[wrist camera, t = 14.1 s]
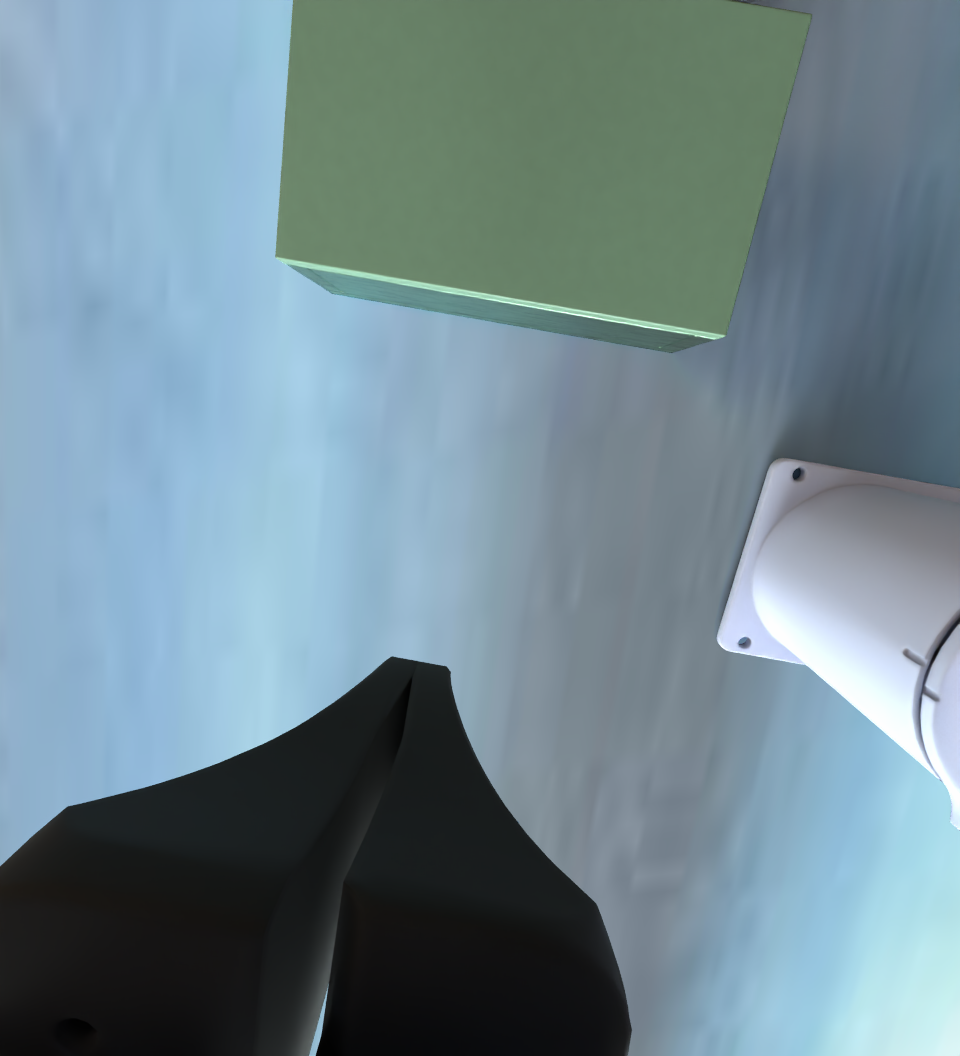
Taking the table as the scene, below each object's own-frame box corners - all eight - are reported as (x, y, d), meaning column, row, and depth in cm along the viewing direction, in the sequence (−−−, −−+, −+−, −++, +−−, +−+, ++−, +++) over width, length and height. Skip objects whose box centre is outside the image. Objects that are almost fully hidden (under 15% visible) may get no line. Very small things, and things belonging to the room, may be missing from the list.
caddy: (350, 73, 17) (304, -26, 13) (726, 138, 17) (792, 57, 13) (330, 293, 19) (283, 264, 15) (672, 353, 19) (717, 339, 15)
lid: (306, -54, 13) (297, -75, 13) (799, 31, 13) (814, 12, 12) (283, 263, 15) (274, 258, 14) (718, 339, 15) (726, 336, 14)
